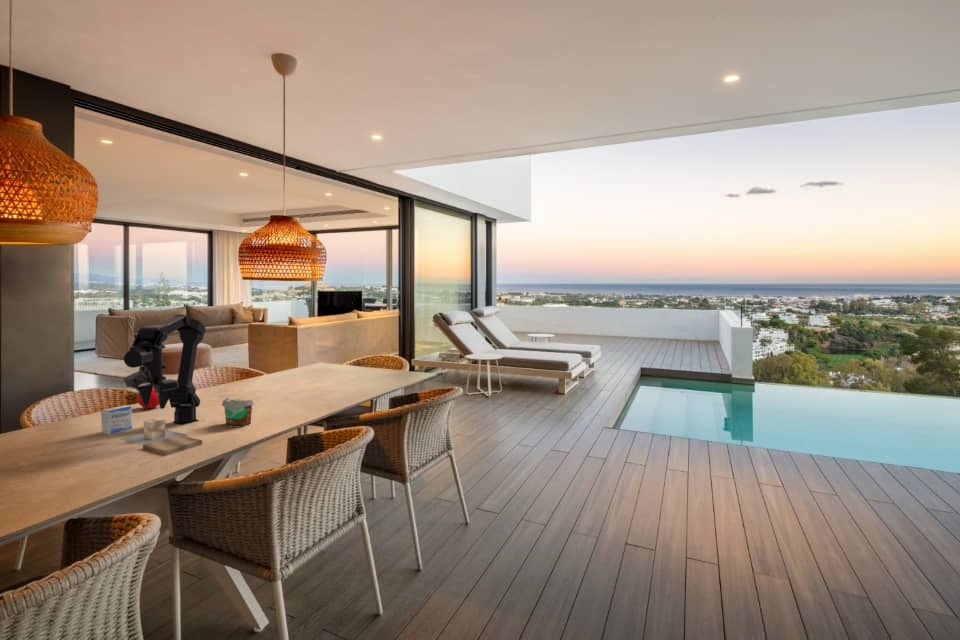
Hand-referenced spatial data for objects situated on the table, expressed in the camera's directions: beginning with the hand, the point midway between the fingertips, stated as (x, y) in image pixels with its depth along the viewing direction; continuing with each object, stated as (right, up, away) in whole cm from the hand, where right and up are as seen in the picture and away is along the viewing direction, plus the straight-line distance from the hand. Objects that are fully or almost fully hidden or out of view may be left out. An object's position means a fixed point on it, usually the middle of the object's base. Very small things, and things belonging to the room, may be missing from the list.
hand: (154, 407), depth 168 cm
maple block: (0, -11, +1) cm, 11 cm away
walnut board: (+12, -12, -8) cm, 19 cm away
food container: (+20, -10, +17) cm, 28 cm away
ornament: (-28, -8, +39) cm, 49 cm away
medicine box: (-18, -10, +7) cm, 22 cm away
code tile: (0, -11, +1) cm, 11 cm away
